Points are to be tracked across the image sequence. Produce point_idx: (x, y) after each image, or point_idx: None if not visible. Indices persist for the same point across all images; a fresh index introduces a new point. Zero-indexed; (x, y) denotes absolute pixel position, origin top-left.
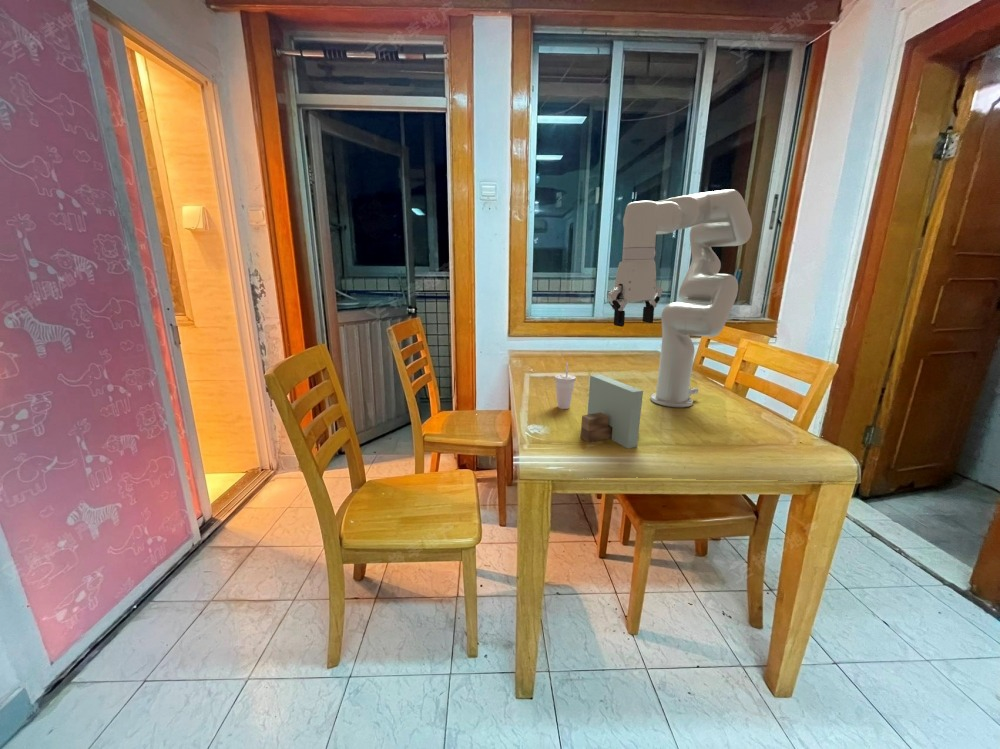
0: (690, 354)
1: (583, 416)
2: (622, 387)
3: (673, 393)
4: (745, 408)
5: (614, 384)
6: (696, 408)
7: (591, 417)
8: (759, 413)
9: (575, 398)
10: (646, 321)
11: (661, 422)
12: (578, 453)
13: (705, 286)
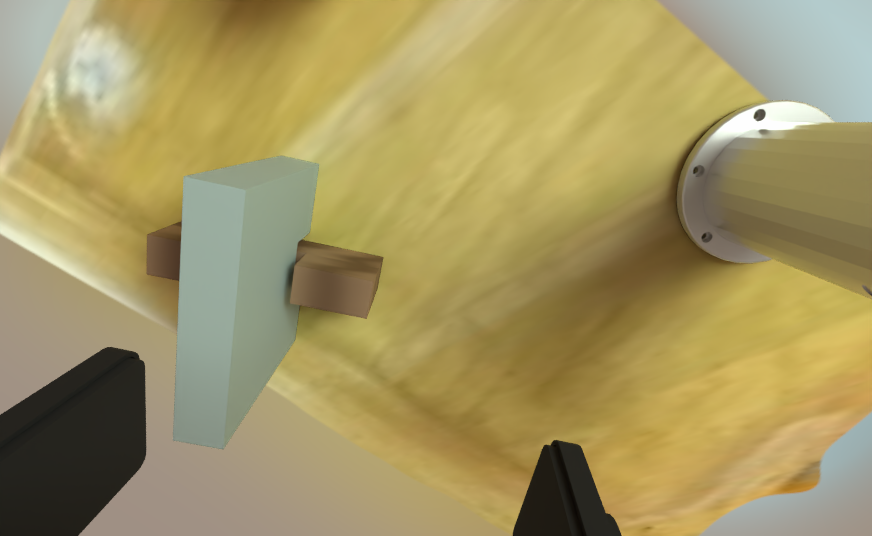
0: None
1: (147, 242)
2: (180, 387)
3: (731, 228)
4: (853, 370)
5: (180, 344)
6: (737, 280)
7: (164, 265)
8: (825, 410)
9: None
10: (528, 495)
11: (510, 283)
12: (124, 280)
13: None
